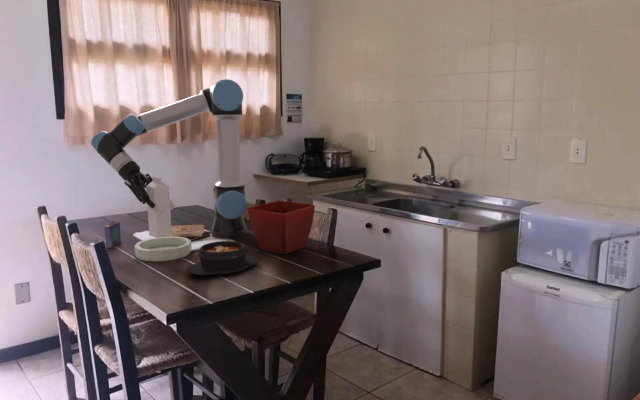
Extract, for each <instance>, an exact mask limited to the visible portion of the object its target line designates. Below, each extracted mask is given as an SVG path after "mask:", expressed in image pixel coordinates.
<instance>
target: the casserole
mask: <svg viewBox="0 0 640 400" xmlns="http://www.w3.org/2000/svg"><path fill="white" fill-rule="evenodd" d="M248 252H249V250H248V249H247V247H246V244H245V243H243V242H240V241H234V240H220V241H214V242H209V243H205V244H203V245H200V248H199V251H198V253H197V256H198V258H199V262H197V263H194V264H191V265H188V266H187V267H186V271H187V272H188V273H190V274H193V275H195V276H200V277H201V276H202V277H203V276H208V275H209V276H211V275H212V276H213V275H214V276H215V275H216V276H217V275H218V276H224V275H232V274H235V273H239V272H241V271H245V270H246V269H247V268H249V267H253V266H254V265H255V266H256V265H257V264H258V263H259V262H260V261H259V259H258V258H257V257H254V256H251V255H248Z"/></svg>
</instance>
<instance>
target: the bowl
mask: <svg viewBox="0 0 640 400" xmlns="http://www.w3.org/2000/svg"><path fill="white" fill-rule="evenodd" d="M133 247H134V255H135V257H136V259H137V260H140V261H144V262H166V261H167V262H168V261H174V260H178V259H181V258H182V259H183V258H184V257H187V256H189V255H190V254H191V252H192V240H191V239H189V238H187V237H182V236H165V237H160V238H156V237H152V238H147V239H144V240H140V241H138V242H136V244H134V246H133Z"/></svg>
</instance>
